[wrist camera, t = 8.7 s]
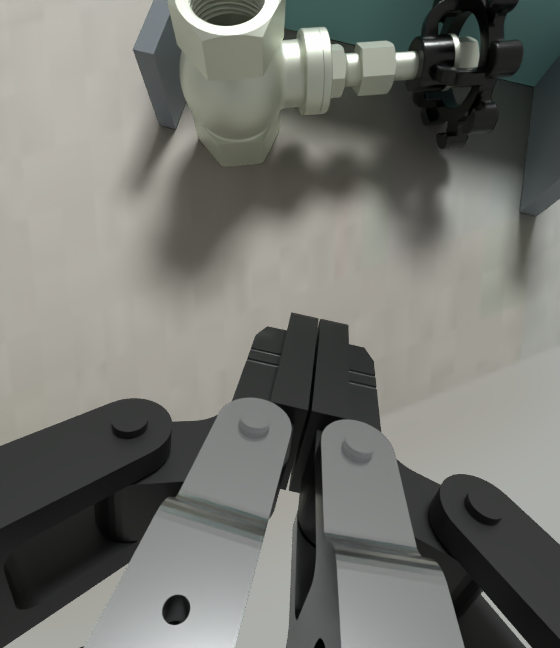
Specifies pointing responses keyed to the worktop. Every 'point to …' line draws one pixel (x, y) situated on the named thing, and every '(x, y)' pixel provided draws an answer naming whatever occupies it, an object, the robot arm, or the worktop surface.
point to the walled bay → (400, 29)
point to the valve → (331, 70)
